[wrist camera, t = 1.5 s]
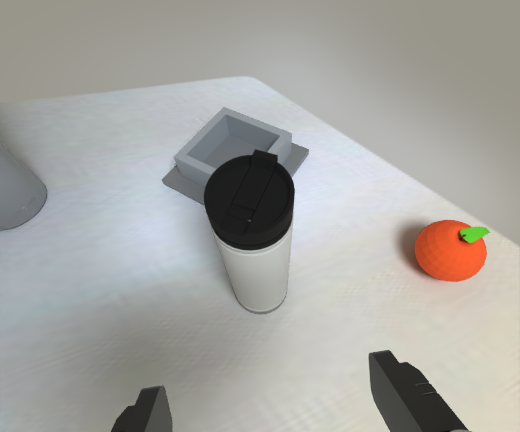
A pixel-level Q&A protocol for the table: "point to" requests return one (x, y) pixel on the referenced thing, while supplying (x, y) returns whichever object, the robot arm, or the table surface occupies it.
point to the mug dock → (229, 150)
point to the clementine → (451, 250)
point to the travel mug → (253, 227)
